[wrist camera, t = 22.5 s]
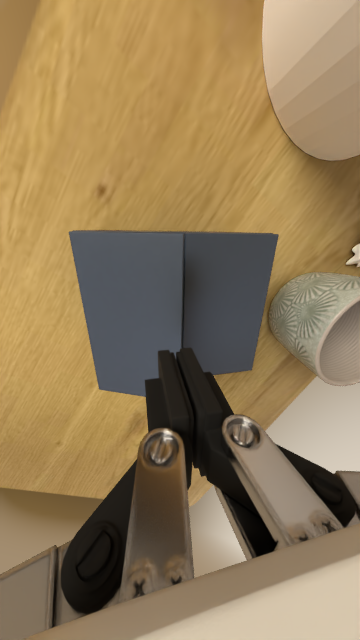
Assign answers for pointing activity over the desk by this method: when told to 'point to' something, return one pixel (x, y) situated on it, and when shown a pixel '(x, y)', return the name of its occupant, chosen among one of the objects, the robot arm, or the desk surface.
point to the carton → (223, 295)
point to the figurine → (355, 256)
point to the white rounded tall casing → (315, 73)
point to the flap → (130, 302)
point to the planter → (321, 324)
